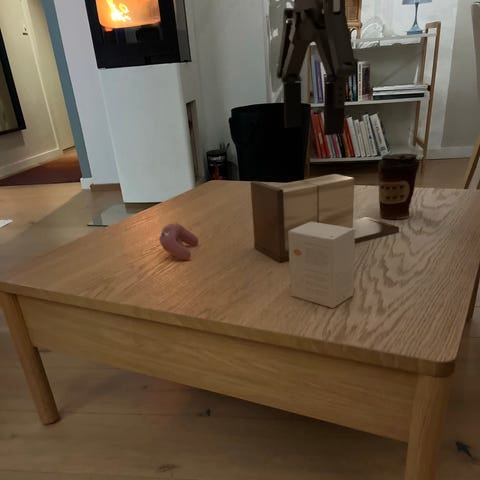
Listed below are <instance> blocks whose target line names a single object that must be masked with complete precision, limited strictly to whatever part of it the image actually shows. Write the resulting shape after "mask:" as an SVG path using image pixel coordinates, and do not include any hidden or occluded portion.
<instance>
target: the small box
mask: <svg viewBox="0 0 480 480" xmlns="http://www.w3.org/2000/svg"><path fill="white" fill-rule="evenodd" d="M288 240H289V261H288V263H289V281H290V282H289V283H290V284H289V285H290V296H291V297H294V298H297V299H301V300H305V301H307V302H311V303H315V304H317V305H320V306H325V307H328V308H331V309H334V308H335V307H337V306H339V305H340V304H341V303H343V302H345V301H346V300H348V299H349V298H351V297H352V296H354V292H355V247H356V246H355V245H356V243H355V229H354V228H347V227H341V226H335V225H329V224H323V223H317V222H309V223H306V224H304V225H301V226H299V227H296V228H294V229H292V230H289V231H288Z"/></svg>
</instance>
